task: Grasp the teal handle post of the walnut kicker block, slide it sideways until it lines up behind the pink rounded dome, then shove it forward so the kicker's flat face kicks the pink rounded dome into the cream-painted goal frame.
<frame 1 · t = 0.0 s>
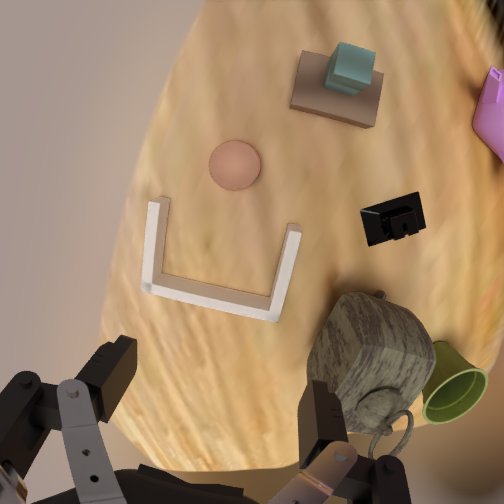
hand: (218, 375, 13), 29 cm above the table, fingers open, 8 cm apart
plant pot: (432, 357, 46), on the table
teakettle: (503, 124, 33), on the table
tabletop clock: (346, 317, 45), on the table
black angular piece: (392, 217, 40), on the table
kicker: (333, 92, 35), on the table
goal frame: (219, 254, 43), on the table
pink rounded dome: (237, 164, 39), on the table
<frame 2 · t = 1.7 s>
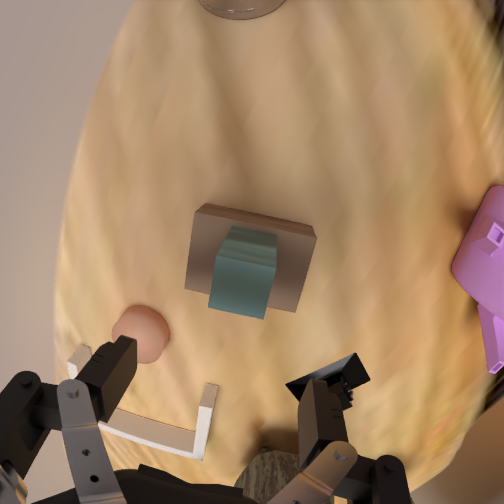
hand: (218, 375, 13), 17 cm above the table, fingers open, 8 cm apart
teakettle: (497, 252, 28), on the table
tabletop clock: (277, 449, 40), on the table
black angular piece: (328, 379, 35), on the table
kicker: (251, 249, 30), on the table
goal frame: (145, 398, 38), on the table
pink rounded dome: (145, 327, 34), on the table
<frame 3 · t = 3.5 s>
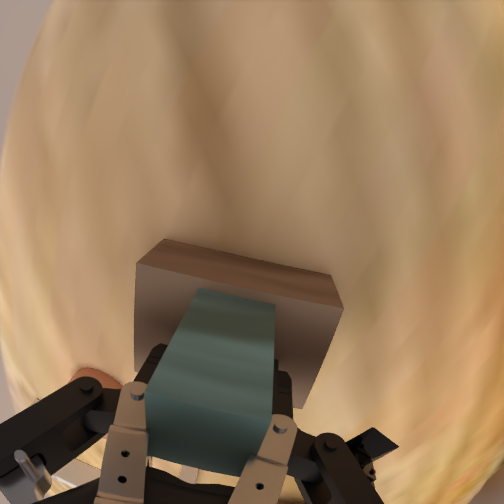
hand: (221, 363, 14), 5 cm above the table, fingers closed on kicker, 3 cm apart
black angular piece: (344, 454, 24), on the table
kicker: (235, 309, 19), on the table, touching gripper
goal frame: (115, 460, 27), on the table
pink rounded dome: (103, 393, 23), on the table
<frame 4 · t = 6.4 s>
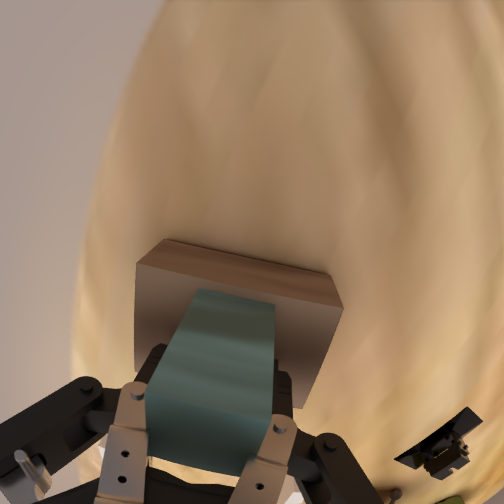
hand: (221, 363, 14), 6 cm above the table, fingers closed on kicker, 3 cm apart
black angular piece: (438, 437, 24), on the table
kicker: (236, 309, 19), on the table, touching gripper
goal frame: (203, 473, 27), on the table
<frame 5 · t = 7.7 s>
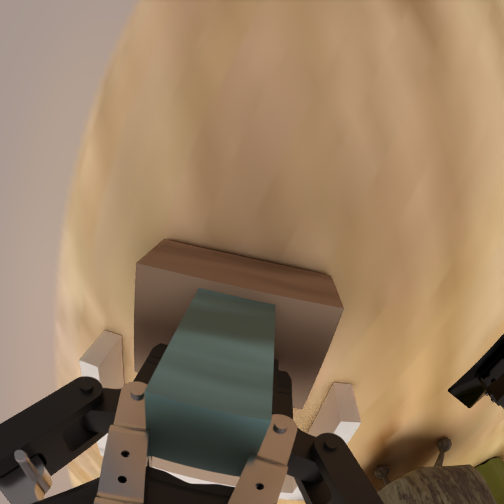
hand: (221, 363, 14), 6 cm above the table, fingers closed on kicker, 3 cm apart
plant pot: (479, 470, 27), on the table
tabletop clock: (393, 465, 25), on the table
black angular piece: (492, 360, 21), on the table
kicker: (236, 309, 19), point 1 cm above the table, touching gripper, pink rounded dome
goal frame: (214, 417, 23), on the table
when the fingers open (6 cm above the table, at t = 9.6 s): kicker stays where it is, on the table.
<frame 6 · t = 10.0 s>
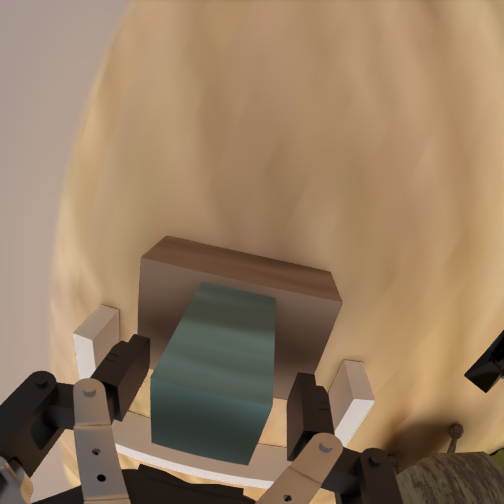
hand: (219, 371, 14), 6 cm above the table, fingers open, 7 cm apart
plant pot: (488, 462, 26), on the table
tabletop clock: (403, 455, 24), on the table
kicker: (237, 304, 20), on the table
goal frame: (216, 400, 22), on the table
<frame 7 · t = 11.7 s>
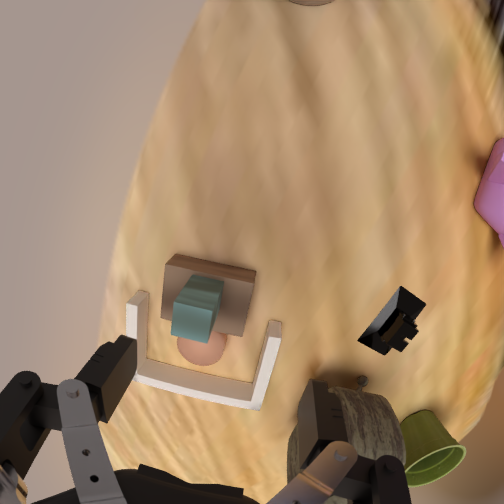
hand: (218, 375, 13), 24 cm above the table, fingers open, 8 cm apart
plant pot: (415, 422, 44), on the table
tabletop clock: (329, 398, 43), on the table
black angular piece: (391, 320, 39), on the table
kicker: (210, 288, 39), on the table
goal frame: (201, 346, 41), on the table
pink rounded dome: (204, 334, 41), on the table
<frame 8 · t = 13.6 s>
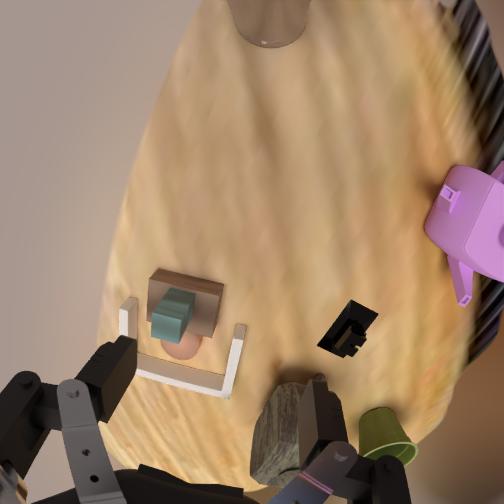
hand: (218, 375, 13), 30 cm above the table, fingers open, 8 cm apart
plant pot: (375, 418, 52), on the table
teakettle: (462, 218, 39), on the table
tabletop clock: (291, 391, 51), on the table
black angular piece: (346, 328, 47), on the table
kicker: (187, 296, 46), on the table
goal frame: (182, 343, 49), on the table
pink rounded dome: (184, 334, 48), on the table
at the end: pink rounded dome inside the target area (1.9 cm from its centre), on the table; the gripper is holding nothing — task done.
